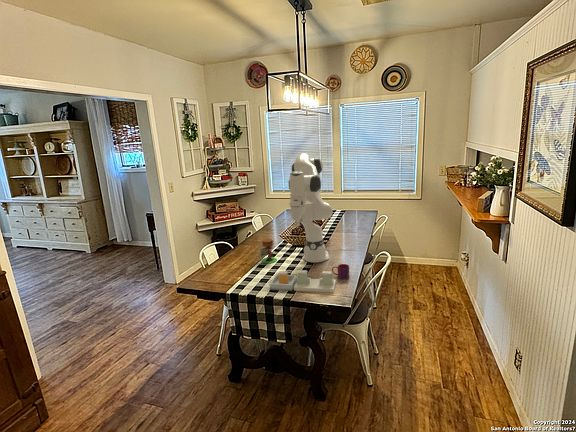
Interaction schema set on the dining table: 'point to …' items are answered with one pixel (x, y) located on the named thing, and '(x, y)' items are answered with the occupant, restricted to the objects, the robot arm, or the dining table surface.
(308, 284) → the fuse holder
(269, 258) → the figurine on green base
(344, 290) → the dining table surface
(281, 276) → the orange fuse
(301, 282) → the green fuse
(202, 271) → the dining table surface
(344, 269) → the mug
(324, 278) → the green fuse
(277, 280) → the tray
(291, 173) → the robot arm
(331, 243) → the dining table surface
